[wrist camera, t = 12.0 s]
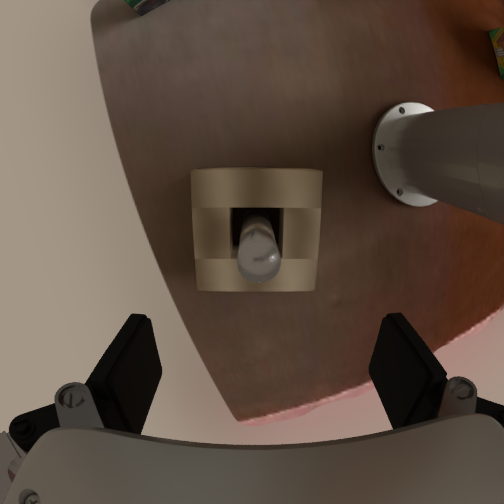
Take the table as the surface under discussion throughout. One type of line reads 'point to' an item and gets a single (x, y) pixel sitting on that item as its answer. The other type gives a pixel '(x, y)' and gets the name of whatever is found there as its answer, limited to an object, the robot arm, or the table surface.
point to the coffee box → (144, 5)
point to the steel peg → (258, 248)
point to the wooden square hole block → (256, 195)
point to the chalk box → (498, 47)
